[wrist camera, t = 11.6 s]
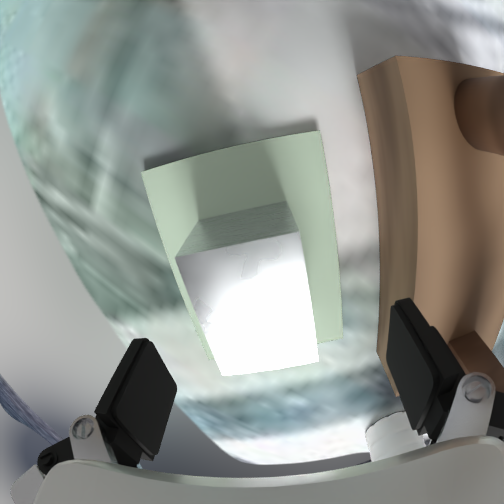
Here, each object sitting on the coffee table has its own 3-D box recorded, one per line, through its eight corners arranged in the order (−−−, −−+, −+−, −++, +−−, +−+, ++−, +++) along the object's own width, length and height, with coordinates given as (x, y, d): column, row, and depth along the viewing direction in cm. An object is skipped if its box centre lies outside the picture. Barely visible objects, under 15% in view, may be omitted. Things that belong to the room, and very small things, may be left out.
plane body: (468, 81, 12) (608, 84, 1) (461, 322, 19) (527, 417, 8) (356, 75, 13) (518, 11, 2) (376, 351, 20) (425, 478, 9)
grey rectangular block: (286, 200, 15) (299, 231, 10) (305, 306, 18) (318, 361, 13) (198, 220, 16) (174, 257, 11) (230, 319, 18) (222, 375, 14)
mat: (317, 130, 14) (319, 130, 13) (341, 333, 19) (342, 338, 19) (144, 170, 15) (140, 172, 14) (210, 354, 20) (209, 360, 20)
